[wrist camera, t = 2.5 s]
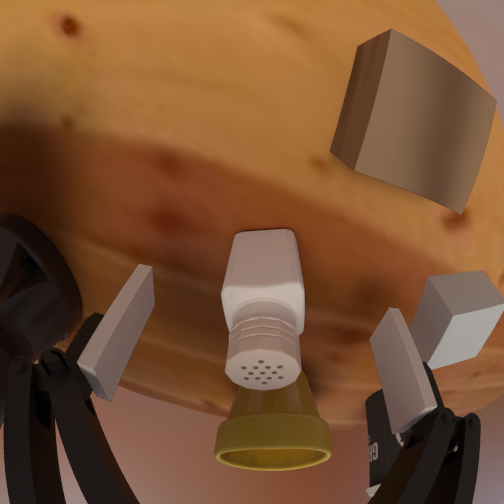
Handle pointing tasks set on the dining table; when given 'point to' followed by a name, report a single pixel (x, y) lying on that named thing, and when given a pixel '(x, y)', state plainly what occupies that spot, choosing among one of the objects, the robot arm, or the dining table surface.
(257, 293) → the pepper shaker
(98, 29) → the dining table surface
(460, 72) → the walnut block
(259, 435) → the plant pot
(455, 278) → the grey-blue block
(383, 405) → the coffee cup
